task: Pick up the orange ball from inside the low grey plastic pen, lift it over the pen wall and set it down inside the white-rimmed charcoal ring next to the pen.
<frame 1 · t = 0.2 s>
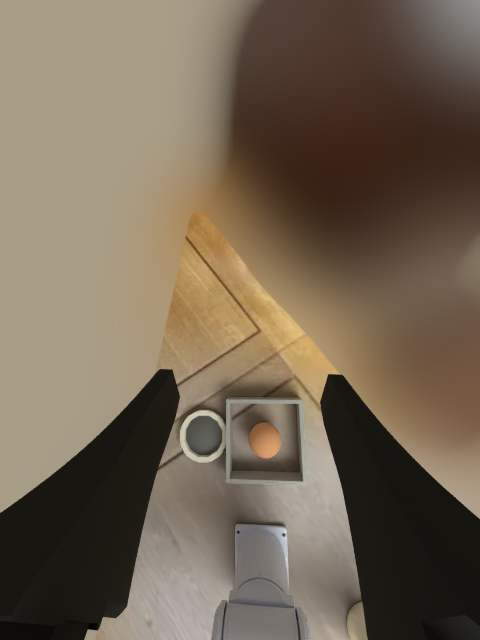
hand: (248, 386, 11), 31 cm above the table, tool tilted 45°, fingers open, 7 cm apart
low pen: (264, 435, 39), on the table
orange ball: (264, 439, 36), point 2 cm above the table
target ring: (205, 433, 40), on the table
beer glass: (367, 624, 33), on the table
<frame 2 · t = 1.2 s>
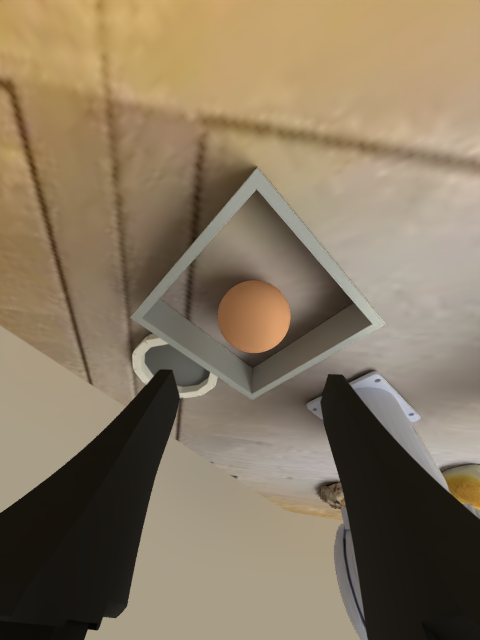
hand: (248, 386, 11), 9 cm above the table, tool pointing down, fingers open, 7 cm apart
low pen: (254, 298, 18), on the table
orange ball: (253, 316, 16), point 2 cm above the table
bread roll: (459, 474, 33), on the table
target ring: (179, 361, 23), on the table
mineral rock: (345, 489, 38), on the table
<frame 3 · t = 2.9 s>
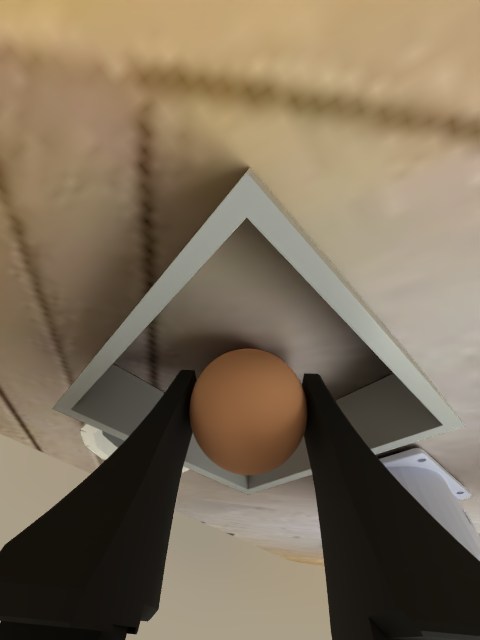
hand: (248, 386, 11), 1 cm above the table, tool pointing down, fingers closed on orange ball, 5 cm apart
low pen: (249, 364, 12), on the table
orange ball: (247, 406, 10), point 2 cm above the table, touching gripper
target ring: (149, 431, 17), on the table
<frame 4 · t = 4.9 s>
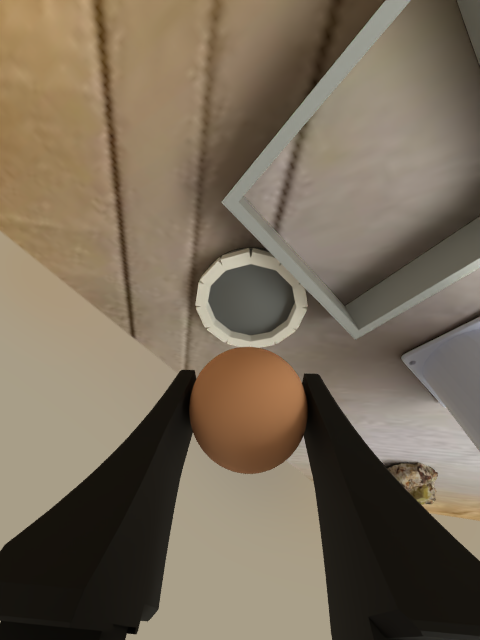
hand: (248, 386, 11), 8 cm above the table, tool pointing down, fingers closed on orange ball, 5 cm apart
low pen: (376, 191, 13), on the table
orange ball: (248, 404, 10), point 9 cm above the table, touching gripper
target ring: (251, 299, 18), on the table
mineral rock: (403, 473, 34), on the table
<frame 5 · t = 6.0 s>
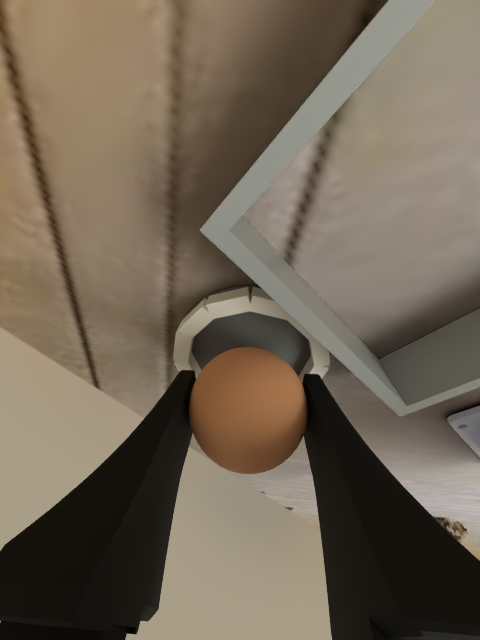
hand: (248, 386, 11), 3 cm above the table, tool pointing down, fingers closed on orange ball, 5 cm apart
low pen: (447, 207, 8), on the table
orange ball: (247, 404, 10), point 4 cm above the table, touching gripper
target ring: (250, 348, 13), on the table
mineral rock: (424, 524, 29), on the table
when the fingers open (2 cm above the table, at t = 7.0 s): orange ball stays where it is, resting on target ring.
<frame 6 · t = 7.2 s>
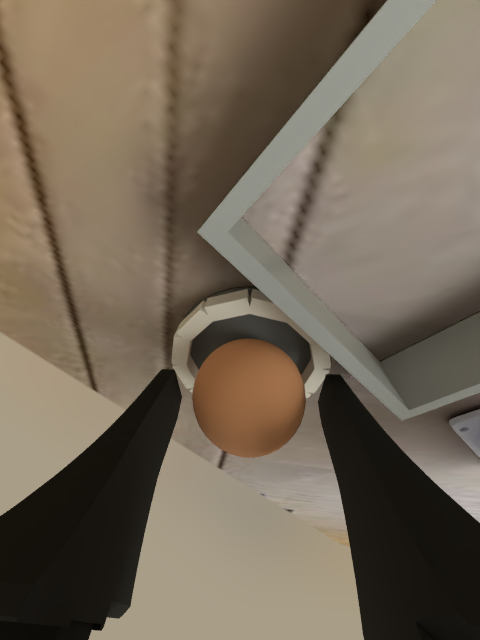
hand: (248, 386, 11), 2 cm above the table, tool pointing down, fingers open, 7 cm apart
low pen: (451, 208, 8), on the table
orange ball: (248, 393, 10), point 3 cm above the table, touching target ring
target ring: (249, 351, 13), on the table
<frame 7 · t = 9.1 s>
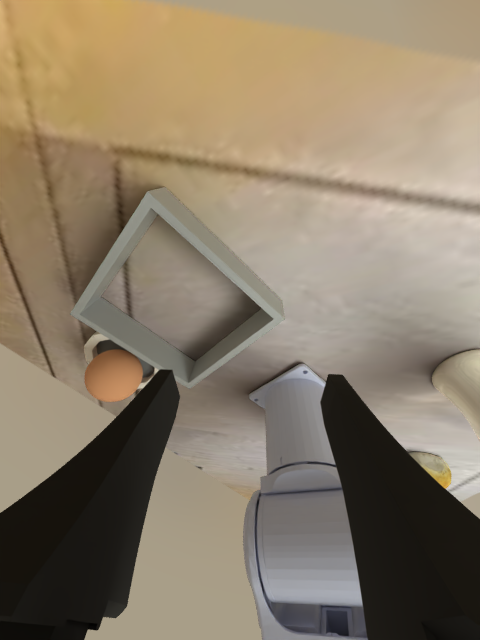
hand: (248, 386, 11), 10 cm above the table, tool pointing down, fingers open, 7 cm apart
low pen: (184, 298, 21), on the table
orange ball: (115, 374, 23), point 3 cm above the table, touching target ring
bread roll: (407, 462, 35), on the table
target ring: (129, 355, 25), on the table
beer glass: (463, 369, 23), on the table
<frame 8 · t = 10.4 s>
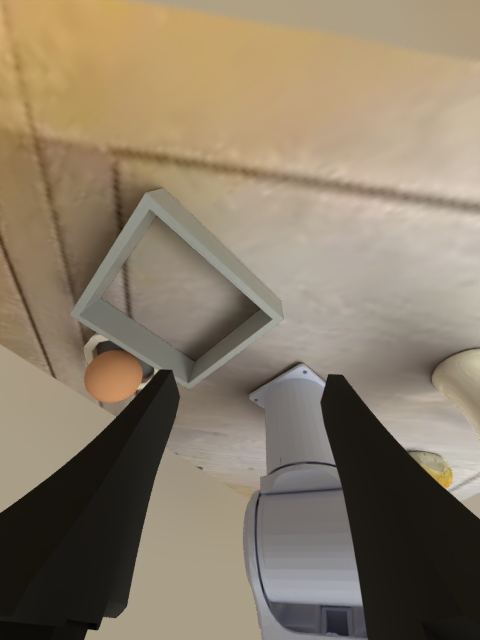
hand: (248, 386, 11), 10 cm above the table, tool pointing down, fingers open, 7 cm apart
low pen: (183, 298, 21), on the table
orange ball: (115, 375, 23), point 3 cm above the table, touching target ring
bread roll: (408, 462, 35), on the table
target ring: (129, 356, 25), on the table
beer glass: (463, 369, 23), on the table
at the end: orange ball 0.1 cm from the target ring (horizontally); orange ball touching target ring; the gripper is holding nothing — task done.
